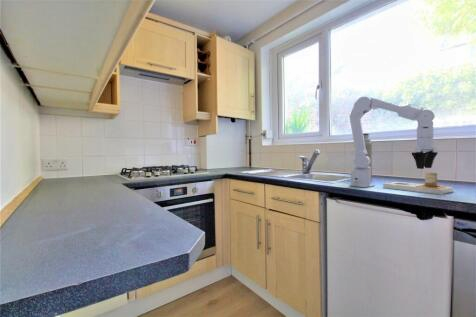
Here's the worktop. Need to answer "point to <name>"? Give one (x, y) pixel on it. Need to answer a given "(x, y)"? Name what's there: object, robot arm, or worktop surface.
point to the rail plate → (418, 187)
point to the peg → (431, 179)
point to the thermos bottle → (368, 149)
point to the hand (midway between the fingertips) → (424, 168)
